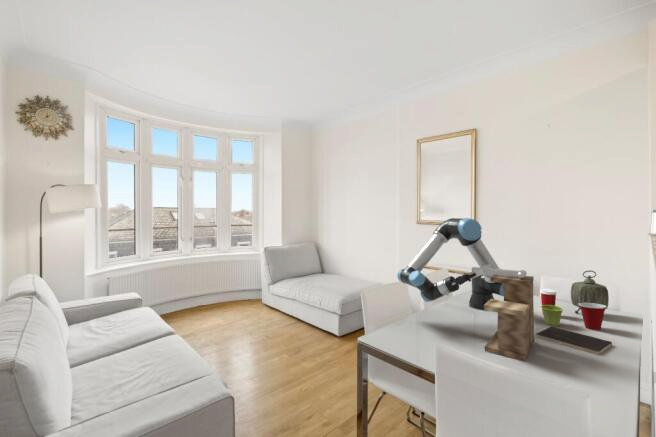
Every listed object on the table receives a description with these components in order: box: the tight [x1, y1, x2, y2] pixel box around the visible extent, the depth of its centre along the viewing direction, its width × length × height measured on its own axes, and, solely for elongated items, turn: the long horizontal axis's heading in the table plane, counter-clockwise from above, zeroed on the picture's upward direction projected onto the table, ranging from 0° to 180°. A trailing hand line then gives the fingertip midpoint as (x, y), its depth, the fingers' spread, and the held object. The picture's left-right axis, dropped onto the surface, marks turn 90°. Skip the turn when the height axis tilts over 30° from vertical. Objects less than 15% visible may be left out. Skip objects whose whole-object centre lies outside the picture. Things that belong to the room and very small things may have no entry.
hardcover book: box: [535, 325, 613, 356], centre depth 140 cm, size 16×23×2 cm
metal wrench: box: [471, 266, 527, 280], centre depth 144 cm, size 22×8×3 cm, turn 52°
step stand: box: [483, 275, 535, 362], centre depth 136 cm, size 15×23×30 cm, turn 139°
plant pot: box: [540, 304, 564, 327], centre depth 161 cm, size 9×9×9 cm
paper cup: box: [539, 288, 557, 316], centre depth 174 cm, size 8×8×14 cm
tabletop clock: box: [570, 270, 610, 314], centre depth 172 cm, size 14×9×25 cm, turn 84°
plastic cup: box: [578, 303, 607, 331], centre depth 154 cm, size 11×11×12 cm
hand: (486, 268), depth 147 cm, fingers open, 13 cm apart
